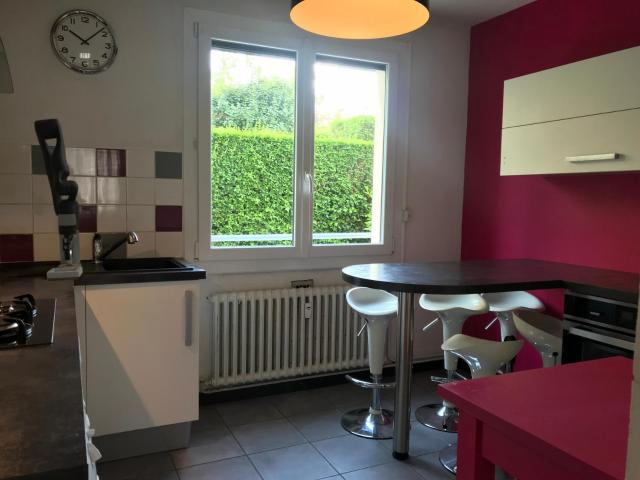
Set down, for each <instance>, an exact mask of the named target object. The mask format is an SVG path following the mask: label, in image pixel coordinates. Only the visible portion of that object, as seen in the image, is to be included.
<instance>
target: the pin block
mask: <svg viewBox="0 0 640 480" xmlns="http://www.w3.org/2000/svg"><path fill="white" fill-rule="evenodd" d="M70 267H82V263H79V264H72V266H67V264H61V263H60V264H59V265H57V267H56V268H70Z"/></svg>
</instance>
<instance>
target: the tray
mask: <svg viewBox="0 0 640 480" xmlns="http://www.w3.org/2000/svg"><path fill="white" fill-rule="evenodd" d="M81 275H83V266H81V267H70V268H57V267H53V268H51V269H50V270H48V271H47V272H46V280H47V281H48V282H51V281H52V282H53V281H75V280H80V279H81ZM47 281H46V282H47Z"/></svg>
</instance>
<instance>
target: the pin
mask: <svg viewBox="0 0 640 480" xmlns="http://www.w3.org/2000/svg"><path fill="white" fill-rule="evenodd" d="M66 264H67V266H72V249H70V260H66Z"/></svg>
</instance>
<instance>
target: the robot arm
mask: <svg viewBox="0 0 640 480" xmlns="http://www.w3.org/2000/svg"><path fill="white" fill-rule="evenodd" d="M34 132H35V135H36V138H37V141H38V144H39V147H40V151H41V154H42V159H43V164H44V168H45V173H46V176H47V180H48V183H49V187H50V188H49V189H50V191H51V192H50V193H51V197H52V204H53V205H52V206H53V211H54V213H55V215H56V217H57V227H58V229H57V230H58V238H59V258H60V259H59V260H60V261H59V262H60V265H61V264H66V260H70V249H72V264H81V252H80V250H81V249H80V248H81V247H80V231H79V229H80V228H79V226H80V205H79V202H78V200H77V197H78V193H79V185H78V183H77V181H75V180H73V179H69V180H68V177H69V176H70V174H71V171H70V168H69V163H68V161H67V154H66V148H65V140H64V133H63V129H62V125H61V122H60V121H59V119H57V118H48V119H47V118H45V119H38V120H37V119H36V120H34ZM55 139H56V140H55ZM48 140H55V141H56V144H55V147H54V149H52V148H51V147H50V145H49V144H48V142H47V141H48ZM63 196H64V197H65V196H66V197H67V196H68V197H67V198H65V199H64V198H62V197H63Z"/></svg>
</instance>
